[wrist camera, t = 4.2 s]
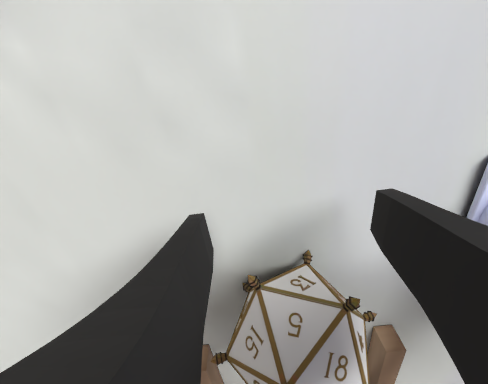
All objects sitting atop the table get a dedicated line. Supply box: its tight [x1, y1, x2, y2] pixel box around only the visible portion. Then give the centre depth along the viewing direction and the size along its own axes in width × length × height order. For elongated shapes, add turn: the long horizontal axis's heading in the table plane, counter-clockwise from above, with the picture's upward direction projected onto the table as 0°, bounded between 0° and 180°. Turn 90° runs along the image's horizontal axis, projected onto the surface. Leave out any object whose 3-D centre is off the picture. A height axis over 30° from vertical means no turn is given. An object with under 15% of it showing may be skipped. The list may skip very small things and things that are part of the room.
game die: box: [210, 250, 377, 384], centre depth 14 cm, size 9×8×10 cm
